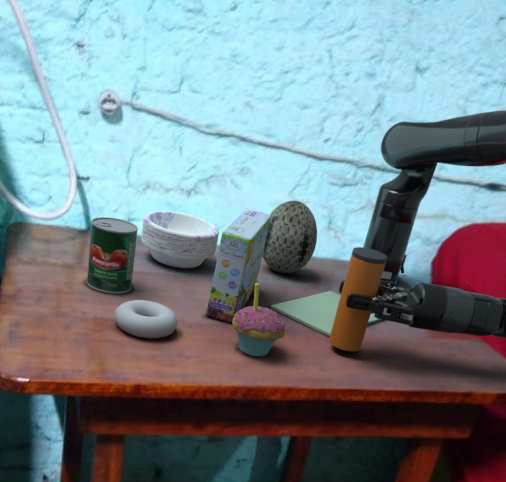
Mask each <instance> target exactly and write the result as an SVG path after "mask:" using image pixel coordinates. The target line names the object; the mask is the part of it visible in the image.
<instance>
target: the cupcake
mask: <svg viewBox="0 0 506 482" xmlns="http://www.w3.org/2000/svg"><path fill="white" fill-rule="evenodd" d="M258 282H259V281H258V278H257V279H256V284H255V290H254V292H253V305H251V306H250V305H248V306H243V308H242V309H241V310H239V311H237V313H235V314H234V317H233V321H232V323H231V324H232V328H233V329H234V330H235V331H236V334H237V339H238V348H239V350H240V351H241V352H242V353H244V354H246V355H249V356H252V357H265V356H267V355H268V354H269V352H270V350H271V349H272V347H273V345H274V344H275V342H276V341H277V340H279V339H282V338H283V337H284V336H285V331H286V328H285V327H286V323H285V321H284V319H283V318H282V316H281V315H280V314H278V312H277V311H275V310H273V309H271V308H270V307H269V308H268V307H266V306H260V305H259V294H260V283H258Z"/></svg>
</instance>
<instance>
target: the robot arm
mask: <svg viewBox="0 0 506 482" xmlns="http://www.w3.org/2000/svg"><path fill="white" fill-rule="evenodd" d="M380 152H381V156H382V159H383V160H384V162H385V163H386V164H387V165H388V166H389V167H391V168H392V169H395V170H400V171H399V174H398V175H397V176H395V177H394V178H393V179H391V180H389V181H386V182H384V183H382V184H381V185H380V186H379V189H378V193H377V196H376V199H375V204H374V207H373V209H372V215H371V218H370V221H369V224H368V229H367V232H366V235H365V240H364V243H363V245H362V247H363V248H369V249H373V250H376V251H379V252H381V253H383V254H385V255H386V256H387V260H386V263H385V267H384V270H383V273H382V277H381V280H380V284H379V287H378V290H377V294H376V297H372V299H371V297H370V296H365V295H359V294H353V293H350V294H348V296H347V300H346V306H347V307H348V308H354V309H360V310H367V311H368V312H369V313H371V314H375V315H374V317H376V318H378V319H383V320H382V321H389V322H392V323H398V324H402V325H405V326H408V327H410V328H414V329H418V330H427V331H432V332H439V333H445V334H462V335H468V336H473V337H490V336H491V337H497V338H501V339H506V298H504V297H495V296H492V295H489V294H484V293H478V292H472V291H466V290H464V289H461V288H456V287H452V286H446V285H439V284H433V283H427V282H421V281H420V282H417V283H415V284H414V285H413V286H412V288H411V289H410V290H405V288H404V287H401V286H397V282H398V278H399V275H400V274H405V266H404V265H405V262H406V259H407V254H406V252H407V250H408V247H409V241H410V238H411V234H412V231H413V228H414V224H415V221H416V218H417V214H418V213H419V212H418V211H419V208H420V206H421V202H422V200H423V199H424V198H425V197H426V195H427V193H428V191H429V188H430V185H431V183H432V181H433V178H434V174H435V172H436V169H437V166H438V164H443V165H444V164H445V165H452V166H458V167H459V166H460V167H474V168H475V167H477V168H478V167H480V168H481V167H496V166H497V167H498V166H504V165H506V109H504V110H503V109H502V110H493V111H484V112H479V113H475V114H467V115H462V116H456V117H451V118H447V119H442V120H439V121H438V120H437V121H429V122H428V121H427V122H425V121H424V122H422V121H421V122H419V121H416V122H415V121H406V120H405V121H399V122H396V123H394V124H393V125H392V126H390V128H388V130H387V131H386V132H385V134H384V135H383V137H382V139H381V142H380ZM344 281H345V279H342V280H341V281H340V283H339V288H338V292H339V294H341V293H342V289H343V285H344Z"/></svg>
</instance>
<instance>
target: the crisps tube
mask: <svg viewBox="0 0 506 482" xmlns="http://www.w3.org/2000/svg"><path fill="white" fill-rule="evenodd" d="M386 260H387V256H386V255H385V254H383V253H381V252H379V251H376V250H373V249H369V248H363V246H362V247H361V246H359V247H358V246H356V247H354V248H352V252H351V256H350V259H349V263H348V266H347V271H346V275H345V278H344V280H345V281H344V285H343V289H342V293H340V295H341V296H340V300H339V304H338V308H337V311H336V315H335V319H334V323H333V326H332V330H331V334H330V337H329V338H328V343H330V345H331V346H333V347H335V348H337V349H339V350H343V351H346V352H357V351H360V350H361V348H362V345H363V341H364V338H365V335H366V331H367V328H368V321H369V318H370V314H371V313H369V312H368V311H367V310H360V309H354V308H348V307H347V306H346V300H347V296H348V294H350V293H353V294H359V295H365V296H370V297H371V299H372V297H376V294H377V290H378V287H379V284H380V280H381V277H382V273H383V270H384V267H385V263H386Z"/></svg>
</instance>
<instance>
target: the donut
mask: <svg viewBox="0 0 506 482" xmlns="http://www.w3.org/2000/svg"><path fill="white" fill-rule="evenodd" d="M114 321H115V323H116V325H117V326H118V327H119V329H121V330H122V331H123V332H125V333H127V334H129V335H132V336H135V337H138V338H143V339H160V338H165V337H168V336H170V335H172V334H173V333H174V332H175V330H176V329H177V326H178V318H177V315H176V313H174V312H173V310H172V309H171V308H169V307H168V306H165V305H164V304H161V303H159V302H156V301H151V300H144V299H135V300H128V301H125V302H122V303H121V304H119V305H118V307H116V309H115V311H114Z"/></svg>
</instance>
